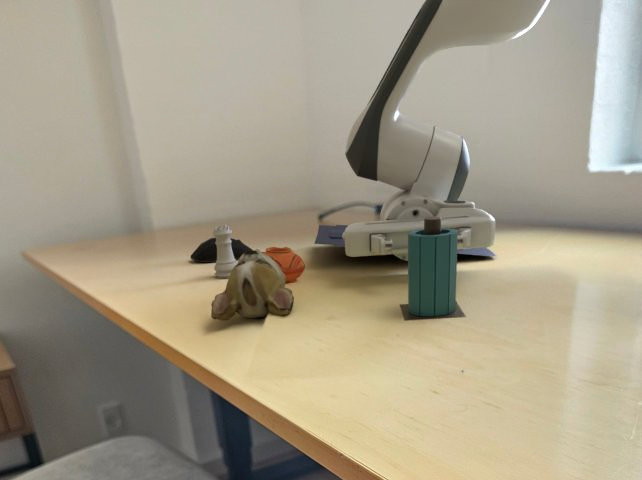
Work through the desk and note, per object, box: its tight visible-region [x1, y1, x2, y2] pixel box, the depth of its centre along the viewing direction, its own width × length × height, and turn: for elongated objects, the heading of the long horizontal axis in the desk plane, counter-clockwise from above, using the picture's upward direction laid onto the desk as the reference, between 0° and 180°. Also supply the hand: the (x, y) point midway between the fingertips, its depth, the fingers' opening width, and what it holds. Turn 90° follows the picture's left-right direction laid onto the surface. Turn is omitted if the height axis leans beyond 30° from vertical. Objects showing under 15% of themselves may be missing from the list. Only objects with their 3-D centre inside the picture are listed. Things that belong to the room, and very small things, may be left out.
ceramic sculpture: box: [210, 248, 295, 322], centre depth 86 cm, size 11×9×15 cm
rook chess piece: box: [212, 224, 238, 279], centre depth 109 cm, size 4×4×8 cm
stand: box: [399, 217, 467, 322], centre depth 76 cm, size 7×7×12 cm
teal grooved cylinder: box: [407, 228, 458, 317], centre depth 76 cm, size 5×6×9 cm
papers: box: [314, 224, 497, 257], centre depth 118 cm, size 24×30×4 cm
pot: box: [263, 246, 306, 284], centre depth 99 cm, size 8×8×7 cm
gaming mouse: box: [190, 237, 265, 263], centre depth 125 cm, size 6×15×4 cm, turn 97°
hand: (423, 245), depth 84 cm, fingers open, 8 cm apart
